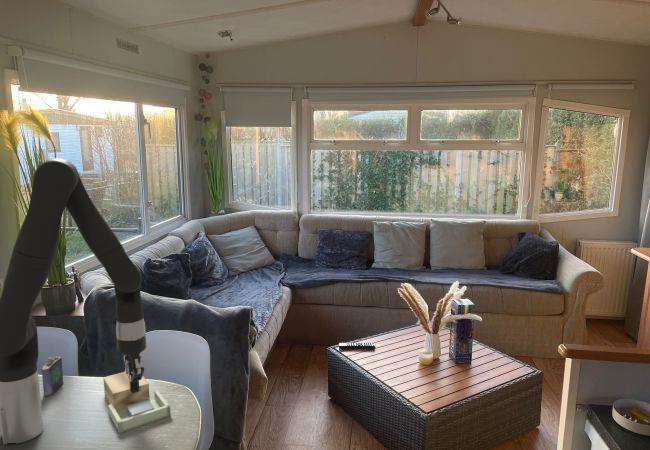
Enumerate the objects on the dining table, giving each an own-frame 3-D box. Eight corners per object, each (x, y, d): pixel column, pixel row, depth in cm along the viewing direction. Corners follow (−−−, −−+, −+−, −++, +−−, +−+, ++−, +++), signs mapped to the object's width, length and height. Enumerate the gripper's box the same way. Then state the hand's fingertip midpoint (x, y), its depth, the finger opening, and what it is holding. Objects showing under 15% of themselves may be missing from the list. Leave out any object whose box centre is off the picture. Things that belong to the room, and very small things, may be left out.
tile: (126, 405, 136) (126, 412, 136) (132, 415, 131) (133, 421, 132) (147, 398, 140) (147, 405, 140) (154, 407, 135) (154, 414, 135)
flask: (50, 396, 145) (47, 363, 144) (40, 396, 145) (37, 364, 143) (65, 381, 154) (62, 350, 153) (56, 381, 154) (53, 350, 153)
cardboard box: (114, 413, 137) (113, 393, 136) (104, 395, 146) (103, 377, 145) (149, 401, 143) (148, 383, 142) (138, 385, 152) (137, 368, 151)
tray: (119, 433, 127) (118, 423, 127) (109, 414, 136) (108, 405, 135) (170, 415, 135) (170, 406, 135) (158, 399, 144) (157, 390, 144)
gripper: (111, 329, 135) (114, 385, 138) (123, 345, 125) (127, 405, 128) (138, 324, 140) (141, 378, 143) (152, 338, 129) (155, 397, 132)
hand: (134, 391), depth 135 cm, fingers closed
